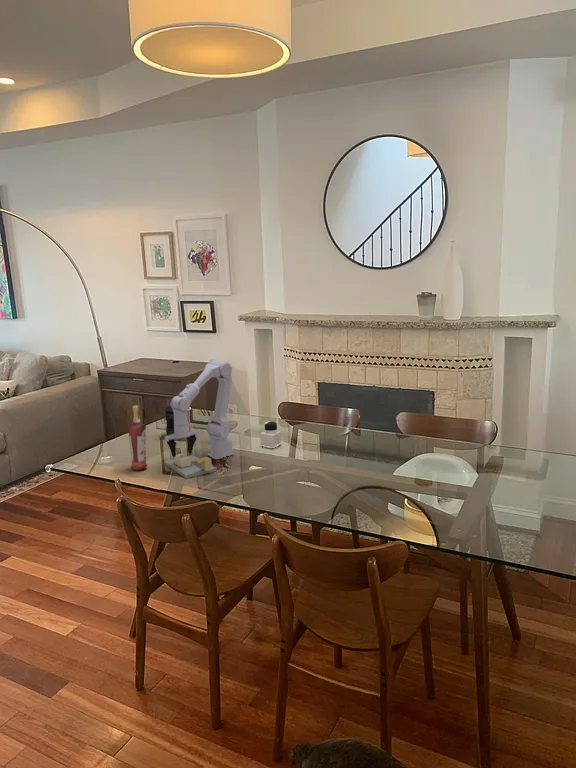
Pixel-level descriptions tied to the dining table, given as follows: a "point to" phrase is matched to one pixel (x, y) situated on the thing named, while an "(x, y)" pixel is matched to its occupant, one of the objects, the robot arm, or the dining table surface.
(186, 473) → the panel
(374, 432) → the dining table surface
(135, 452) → the liquor
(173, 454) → the robot arm
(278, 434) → the medicine bottle
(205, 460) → the wooden l-shaped block
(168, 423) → the storage jar
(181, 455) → the cover
